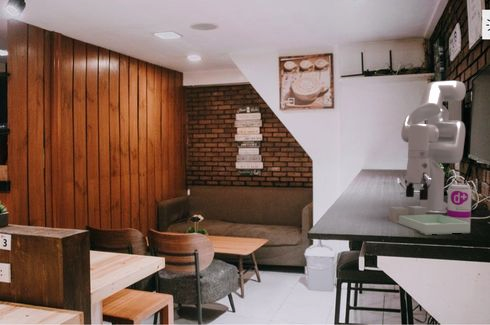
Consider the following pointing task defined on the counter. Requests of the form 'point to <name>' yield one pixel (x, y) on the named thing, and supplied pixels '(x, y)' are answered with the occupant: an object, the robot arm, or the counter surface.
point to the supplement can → (459, 202)
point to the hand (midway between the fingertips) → (416, 198)
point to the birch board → (391, 220)
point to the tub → (434, 224)
